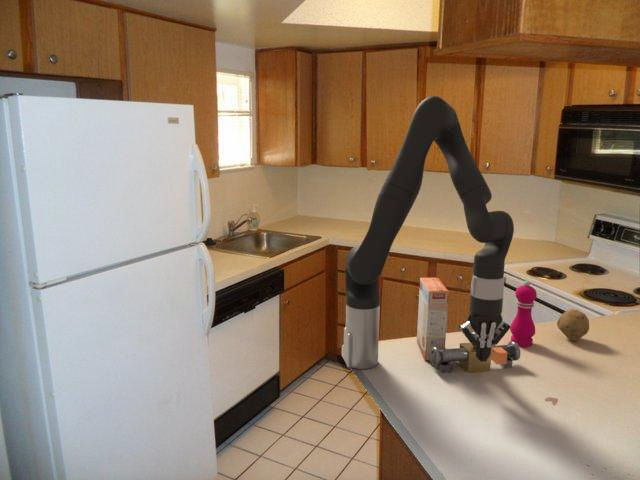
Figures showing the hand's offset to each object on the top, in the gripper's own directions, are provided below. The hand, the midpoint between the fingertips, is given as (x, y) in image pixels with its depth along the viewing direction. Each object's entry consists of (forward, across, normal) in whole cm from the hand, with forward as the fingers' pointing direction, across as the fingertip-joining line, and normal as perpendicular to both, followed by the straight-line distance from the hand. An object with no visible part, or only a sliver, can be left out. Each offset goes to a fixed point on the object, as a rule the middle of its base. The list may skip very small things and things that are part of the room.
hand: (482, 360), depth 126 cm
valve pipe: (+8, +4, +12) cm, 15 cm away
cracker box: (+8, -4, +24) cm, 26 cm away
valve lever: (+1, +4, +6) cm, 8 cm away
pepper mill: (+8, +26, +25) cm, 37 cm away
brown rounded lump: (+9, +43, +25) cm, 51 cm away
